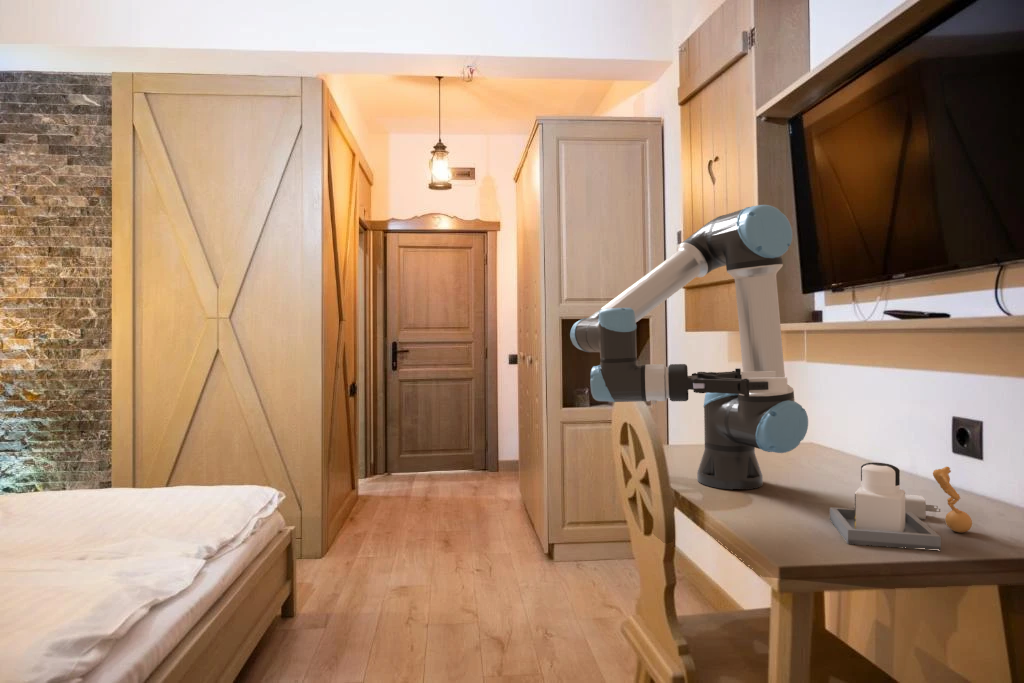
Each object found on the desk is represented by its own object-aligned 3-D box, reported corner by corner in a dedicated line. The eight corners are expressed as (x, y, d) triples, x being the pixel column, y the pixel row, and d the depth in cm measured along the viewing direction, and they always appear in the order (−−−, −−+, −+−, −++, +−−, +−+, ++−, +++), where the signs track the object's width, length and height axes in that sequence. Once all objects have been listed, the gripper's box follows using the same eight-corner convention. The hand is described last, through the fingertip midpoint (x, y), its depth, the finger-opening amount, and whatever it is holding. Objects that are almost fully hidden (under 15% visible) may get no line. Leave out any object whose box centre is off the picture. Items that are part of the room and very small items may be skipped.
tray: (829, 519, 119) (829, 507, 119) (911, 525, 115) (911, 512, 115) (848, 544, 105) (848, 529, 105) (940, 551, 102) (940, 536, 101)
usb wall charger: (896, 512, 123) (896, 492, 123) (936, 516, 121) (936, 496, 121) (899, 517, 120) (899, 497, 120) (941, 522, 117) (941, 501, 117)
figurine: (980, 540, 106) (981, 472, 106) (941, 537, 108) (941, 470, 108) (962, 525, 114) (962, 462, 114) (925, 523, 116) (925, 461, 116)
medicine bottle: (861, 521, 115) (861, 458, 115) (905, 528, 111) (905, 463, 111) (854, 531, 110) (854, 465, 110) (900, 539, 105) (900, 470, 105)
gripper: (669, 393, 134) (772, 392, 129) (667, 410, 110) (793, 409, 105) (668, 360, 134) (770, 357, 128) (665, 369, 110) (792, 366, 104)
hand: (781, 381), depth 117 cm, fingers open, 13 cm apart
